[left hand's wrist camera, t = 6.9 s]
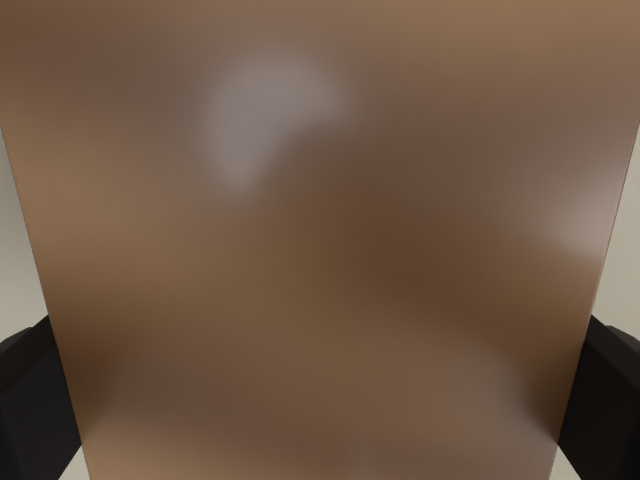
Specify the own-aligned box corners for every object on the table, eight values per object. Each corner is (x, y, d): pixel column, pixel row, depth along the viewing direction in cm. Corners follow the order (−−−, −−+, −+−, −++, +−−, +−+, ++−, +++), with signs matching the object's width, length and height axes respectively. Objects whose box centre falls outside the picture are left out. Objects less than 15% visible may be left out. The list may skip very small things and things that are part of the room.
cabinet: (140, -273, 12) (-360, -1284, 3) (499, -273, 12) (1000, -1283, 3) (204, 320, 19) (101, 528, 10) (435, 320, 19) (538, 527, 10)
